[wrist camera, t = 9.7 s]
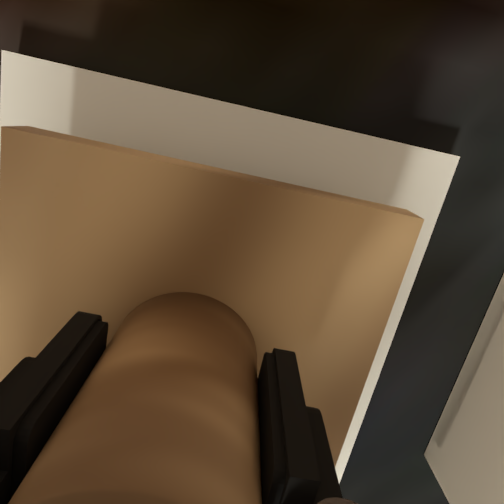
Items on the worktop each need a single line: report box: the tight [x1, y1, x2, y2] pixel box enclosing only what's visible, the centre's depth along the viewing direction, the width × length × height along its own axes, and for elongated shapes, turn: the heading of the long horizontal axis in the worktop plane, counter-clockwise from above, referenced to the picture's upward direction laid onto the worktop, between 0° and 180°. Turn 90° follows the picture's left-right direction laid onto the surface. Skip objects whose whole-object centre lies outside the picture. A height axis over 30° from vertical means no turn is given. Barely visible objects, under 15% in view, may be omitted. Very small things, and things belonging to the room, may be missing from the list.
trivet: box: [0, 50, 460, 483], centre depth 14 cm, size 14×14×1 cm
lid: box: [0, 126, 424, 504], centre depth 9 cm, size 10×10×7 cm
